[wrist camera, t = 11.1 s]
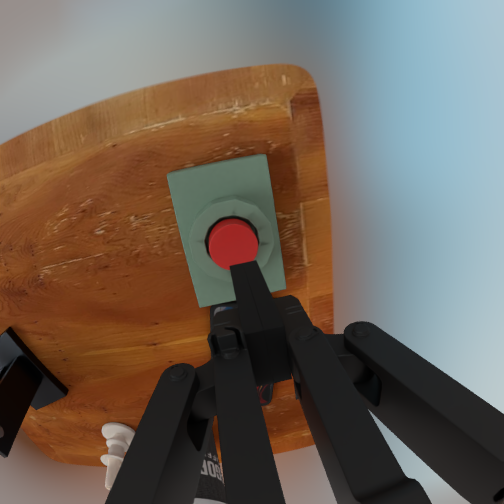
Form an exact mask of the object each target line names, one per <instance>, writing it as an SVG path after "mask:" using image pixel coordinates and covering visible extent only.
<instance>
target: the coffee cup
mask: <svg viewBox="0 0 504 504" xmlns="http://www.w3.org/2000/svg"><path fill="white" fill-rule="evenodd" d="M193 504H227V502H226V494H225V486H224V482H223V478H222V474H221V469H220V465H219V460H218V455H217V451H216V446H215V441H214V436H213V431H212V429H211V433H210V437H209V441H208V445H207V450H206V454H205V458H204V462H203V466H202V470H201V474H200V479H199V483H198V487H197V491H196V495H195V499H194V503H193Z"/></svg>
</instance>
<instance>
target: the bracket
mask: <svg viewBox="0 0 504 504" xmlns="http://www.w3.org/2000/svg"><path fill="white" fill-rule="evenodd" d="M67 393H68V389H67V388H66V387H65V386H64V385H63V384H62V383H61V382H60V381H59V380H58V379H57V378H56V377H55V376H54V375H53V374H52V373H51V372H50V371H49V370H48V369H47V368H46V367H45V366H44V365H43V364H42V363H41V362H40V361H39V360H38V359H37V357H36V356H35V355H34V354H33V353H32V352H31V351H30V350H29V349H28V347H27V346H26V345H25V344H24V343H23V342H22V340H21V339H20V338H19V337H18V336H17V335H16V333H15V332H14V331H13V330H12V328H11V327H9V328H7V329H6V330H5V331H4V332H3V333H2V334H1V335H0V455H2V456H3V457H4V458H5V457H8V454H9V452H10V450H11V447H12V445H13V442H14V440H15V438H16V435H17V433H18V431H19V428H20V426H21V424H22V422H23V419H24V417H25V415H26V413H27V411H28V409H29V406H30V405H31V406H32V407H33V408H34V409H35V410H38V409H40V408H42V407H44V406H46V405H48V404H50V403H52V402H55V401H57V400H59V399H61V398H63V397H65V396H66V395H67Z"/></svg>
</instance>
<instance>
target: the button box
mask: <svg viewBox="0 0 504 504" xmlns="http://www.w3.org/2000/svg"><path fill="white" fill-rule="evenodd" d="M167 179H168V184H169V188H170V193H171V197H172V202H173V206H174V210H175V215H176V219H177V223H178V227H179V231H180V235H181V239H182V243H183V247H184V251H185V255H186V259H187V263H188V267H189V270H190V274H191V278H192V282H193V285H194V289H195V292H196V296H197V300H198V303H199V307H205V306H210V305H215V304H220V303H225V302H229V301H234V300H236V297H235V292H234V287H233V282H232V277H231V272H230V270H226V269H223V268H221V267H219V266H218V265H217V264H216V263H215V262H214V261H213V260H212V258H211V256H210V252H209V236H210V233H211V231H212V229H213V228H214V227H215V226H216V225H217V224H218V223H219V222H221V221H223V220H226V219H239V220H242V221H244V222H246V223H247V224H248V225H249V226H250V227H251V229H252V230H253V232H254V234H255V236H256V238H257V241H258V252H257V255H256V257H255V259H254V260H257V263H258V265H259V267H260V270H261V272H262V274H263V277H264V279H265V281H266V284H267V286H268V288H269V291H270V292H275V291H279V290H283V289H286V282H285V275H284V268H283V260H282V253H281V246H280V240H279V233H278V226H277V219H276V213H275V206H274V200H273V193H272V187H271V181H270V175H269V168H268V162H267V156H266V155H265V154H257V155H251V156H245V157H240V158H234V159H229V160H224V161H219V162H214V163H209V164H204V165H199V166H194V167H190V168H185V169H181V170H177V171H172V172H169V173H168V174H167ZM254 260H253V261H254Z"/></svg>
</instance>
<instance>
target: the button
mask: <svg viewBox="0 0 504 504" xmlns="http://www.w3.org/2000/svg"><path fill="white" fill-rule="evenodd" d="M209 252H210V256H211V258H212V260H213V261H214V262H215V263H216V264H217V265H218V266H219V267H221V268H223V269H226V270H230V267H229V266H231V265H235V264H240V263H245V262H250V261H253V260H254V259H255V257H256V255H257V252H258V241H257V238H256V236H255V234H254V232H253V230H252V229H251V227H250V226H249V225H248V224H247V223H246V222H244V221H242V220H239V219H226V220H223V221H221V222H219V223H218V224H217V225H216V226H215V227H214V228H213V229H212V231H211V233H210V236H209Z"/></svg>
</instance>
